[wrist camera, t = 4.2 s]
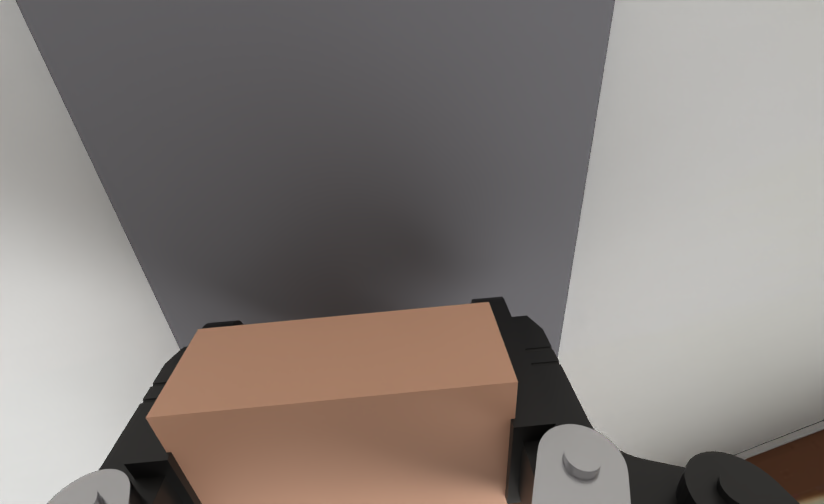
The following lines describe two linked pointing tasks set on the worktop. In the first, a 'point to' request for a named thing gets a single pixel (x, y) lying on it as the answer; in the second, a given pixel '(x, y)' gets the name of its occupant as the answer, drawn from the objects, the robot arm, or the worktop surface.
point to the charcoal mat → (336, 148)
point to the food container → (794, 462)
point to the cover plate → (344, 409)
